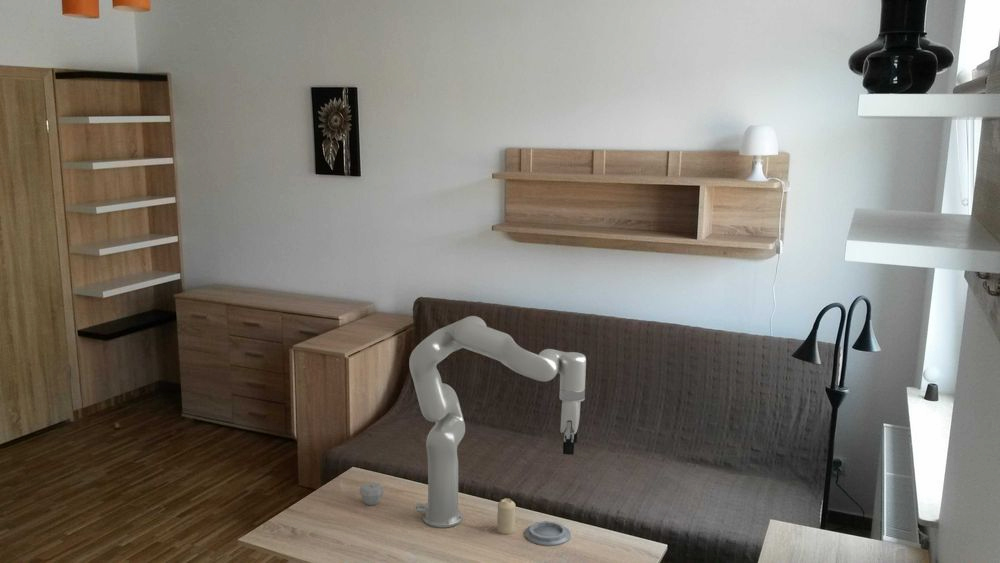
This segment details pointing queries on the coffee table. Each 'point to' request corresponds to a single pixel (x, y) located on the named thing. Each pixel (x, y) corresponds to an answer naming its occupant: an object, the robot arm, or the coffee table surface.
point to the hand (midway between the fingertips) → (570, 448)
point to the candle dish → (547, 533)
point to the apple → (371, 493)
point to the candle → (506, 516)
